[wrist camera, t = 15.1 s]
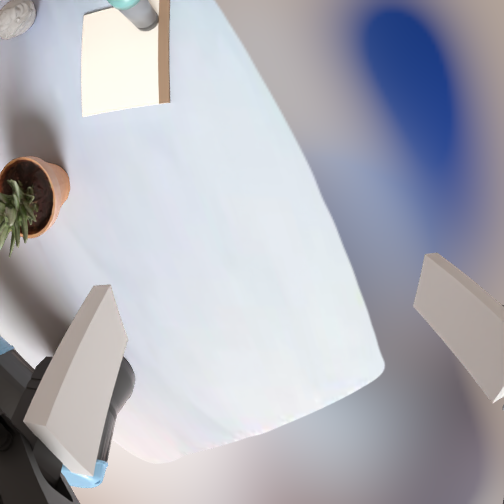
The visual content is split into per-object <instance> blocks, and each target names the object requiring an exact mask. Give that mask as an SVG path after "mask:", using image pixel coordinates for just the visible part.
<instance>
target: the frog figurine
mask: <svg viewBox="0 0 504 504" xmlns="http://www.w3.org/2000/svg"><path fill="white" fill-rule="evenodd" d="M34 7H35V6H34V3H33V2H32V1H31V0H12V1H10V2H8V3H7V4H6V5H5V6H4V7H3V8H2V9H1V11H0V37H1V38H2V39H4V40H7V39H8V40H9V39H11V38H13V37H16V36H18V35H21V34H23V33H25V32H26V31H27V30H28V29H29V28H30V27H31V26H32V24H33V23H34V20H35V17H36V9H35V8H34Z"/></svg>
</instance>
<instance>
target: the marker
mask: <svg viewBox="0 0 504 504" xmlns="http://www.w3.org/2000/svg"><path fill="white" fill-rule="evenodd" d="M107 1H108V2H109V3H110V4H111V5H112V6H113V7H114V8H115V9H118V10H119V11H120V12H121V13H122V14H123V15H124V16H125V17H126V18H127V19H128V20H129V21H131V22H132V23H133V24H134V25H135V26H136V27H137V28H138V29H139V30H141V31H150V30H152V29H154V28H155V27H156V26H157V24H158V22H159V16H158V14H157V13H156V11H155V10H154V8H153V7H152V6H151V4H150V3H149V1H148V0H107Z"/></svg>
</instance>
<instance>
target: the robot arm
mask: <svg viewBox="0 0 504 504" xmlns="http://www.w3.org/2000/svg"><path fill="white" fill-rule="evenodd" d="M413 307H414V308H415V309H416V310H417V311H418V312H419V313H420V315H421V316H422V317H423V318H424V319H425V320H426V321H427V322H428V324H429V325H430V326H431V327H432V328H433V329H434V331H435V332H436V333H437V334H438V335H439V336H440V338H441V339H442V340H443V341H444V342H445V343H446V345H447V346H448V347H449V348H450V349H451V351H452V352H453V353H454V354H455V355H456V357H457V358H458V359H459V361H460V362H461V363H462V364H463V365H464V367H465V368H466V369H467V370H468V372H469V373H470V374H471V376H472V377H473V378H474V380H475V381H476V382H477V383H478V385H479V386H480V387H481V389H482V390H483V391H484V393H485V394H486V395H487V397H488V398H489V399H490V401H491V402H492V403H493V402H495V401H497V400H498V399H500V398H502V397H503V396H504V305H502V304H500V303H499V302H498V301H497V300H496V299H494V298H493V297H492V296H491V295H490V294H489V293H487V292H486V291H485V290H484V289H483V288H481V287H480V286H479V285H478V284H477V283H475V282H474V281H473V280H472V279H470V278H469V277H468V276H467V275H465V274H464V273H463V272H462V271H460V270H459V269H458V268H457V267H455V266H454V265H453V264H451V263H450V262H449V261H447V260H446V259H445V258H444V257H442V256H441V255H440V254H438V253H431V254H425V256H424V261H423V266H422V271H421V275H420V280H419V284H418V289H417V293H416V297H415V301H414V305H413ZM127 342H128V337H127V334H126V332H125V329H124V326H123V323H122V320H121V317H120V314H119V311H118V307H117V304H116V301H115V298H114V294H113V291H112V288H111V285H96V286H93V288H92V289H91V291H90V292H89V294H88V296H87V297H86V299H85V301H84V302H83V304H82V306H81V307H80V309H79V311H78V312H77V314H76V316H75V318H74V319H73V321H72V323H71V325H70V326H69V328H68V330H67V332H66V333H65V335H64V337H63V339H62V341H61V343H60V344H59V346H58V348H57V350H56V352H55V354H54V356H53V357H45V358H44V359H43V360H42V361H41V362H40V363H39V364H38V365H37V366H36V368H35V369H34V368H33V367H31V366H30V365H29V364H28V363H27V362H26V361H25V360H24V359H23V358H22V357H21V356H20V355H19V354H18V352H17V351H16V350H15V348H14V347H13V346H11V345H10V344H9V343H7V342H6V341H5V340H4V339H3V338H2V337H1V336H0V504H80V503H79V501H78V499H77V498H76V496H75V494H74V492H73V491H72V489H71V487H70V486H75V487H81V488H93V487H96V486H98V485H100V484H101V483H102V481H103V478H104V474H105V471H106V467H107V466H108V463H107V460H108V455H109V450H110V445H111V440H112V435H113V430H114V425H115V421H116V416H117V414H118V413H119V411H120V410H121V408H122V407H123V406H124V404H125V403H126V401H127V400H128V399H129V398H130V396H131V394H132V392H133V388H134V384H135V375H134V372H133V370H132V368H131V366H130V365H129V363H128V362H127V361H126V360H125V359H124V358H123V355H124V352H125V348H126V345H127ZM502 410H504V405H503V409H502ZM503 504H504V500H503Z"/></svg>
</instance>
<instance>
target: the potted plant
mask: <svg viewBox="0 0 504 504" xmlns="http://www.w3.org/2000/svg"><path fill="white" fill-rule="evenodd" d="M69 191H70V183H69V177H68V175H67V173H66V172H65V170H64V169H63V168H61V167H60V166H58V165H56V164H52V163H48V162H45V161H44V160H42V159H40V158H38V157H35V156H25V157H18V158H16V159H13V160H12V161H10V162H9V163H8V164H7V165H6V166H5V167H4V169H3V170H2V172H1V173H0V250H1V249H2V247H3V244H4V242H5V240H6V238H7V236H8V234H9V232H10V231H12V237H11V246H10V254H9V257H10V256H11V253H12V251H13V247H14V243H15V240H16V245H17V247H19V244H20V236H21V237H23V239H24V243H25V244H26V240H28V238H35V237H38V236H40V235H42V234H43V233H44V232H46V231H47V230H48V229H49V228H50V227H51V226H52V225H53V224H54V222H55V221H56V219H57V217H58V214H59V211H60V208H61V206H62V204H63V203H64V202H65V201H66V199H67V198H68V195H69Z"/></svg>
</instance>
